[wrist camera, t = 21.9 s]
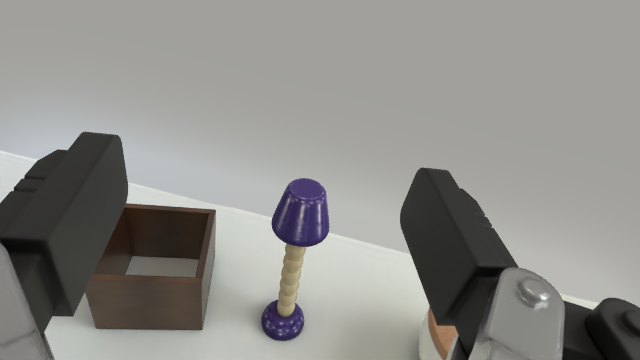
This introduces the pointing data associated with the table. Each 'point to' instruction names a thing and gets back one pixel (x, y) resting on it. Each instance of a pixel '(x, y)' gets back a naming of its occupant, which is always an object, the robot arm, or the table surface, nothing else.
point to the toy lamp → (295, 251)
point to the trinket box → (435, 339)
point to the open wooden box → (154, 291)
